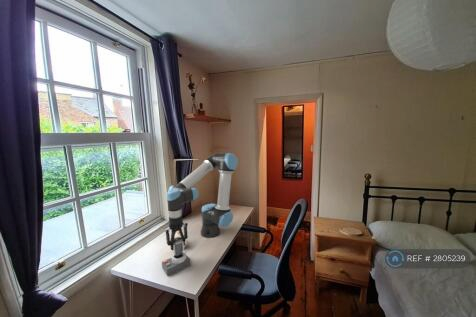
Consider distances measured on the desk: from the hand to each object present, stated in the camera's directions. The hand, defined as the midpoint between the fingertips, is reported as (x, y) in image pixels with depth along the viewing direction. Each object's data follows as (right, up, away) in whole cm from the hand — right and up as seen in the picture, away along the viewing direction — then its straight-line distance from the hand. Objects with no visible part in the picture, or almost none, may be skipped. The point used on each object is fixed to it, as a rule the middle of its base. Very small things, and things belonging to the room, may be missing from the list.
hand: (178, 252), depth 117 cm
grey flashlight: (0, -4, +1) cm, 4 cm away
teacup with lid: (-4, -6, +19) cm, 21 cm away
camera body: (-1, -8, 0) cm, 9 cm away
